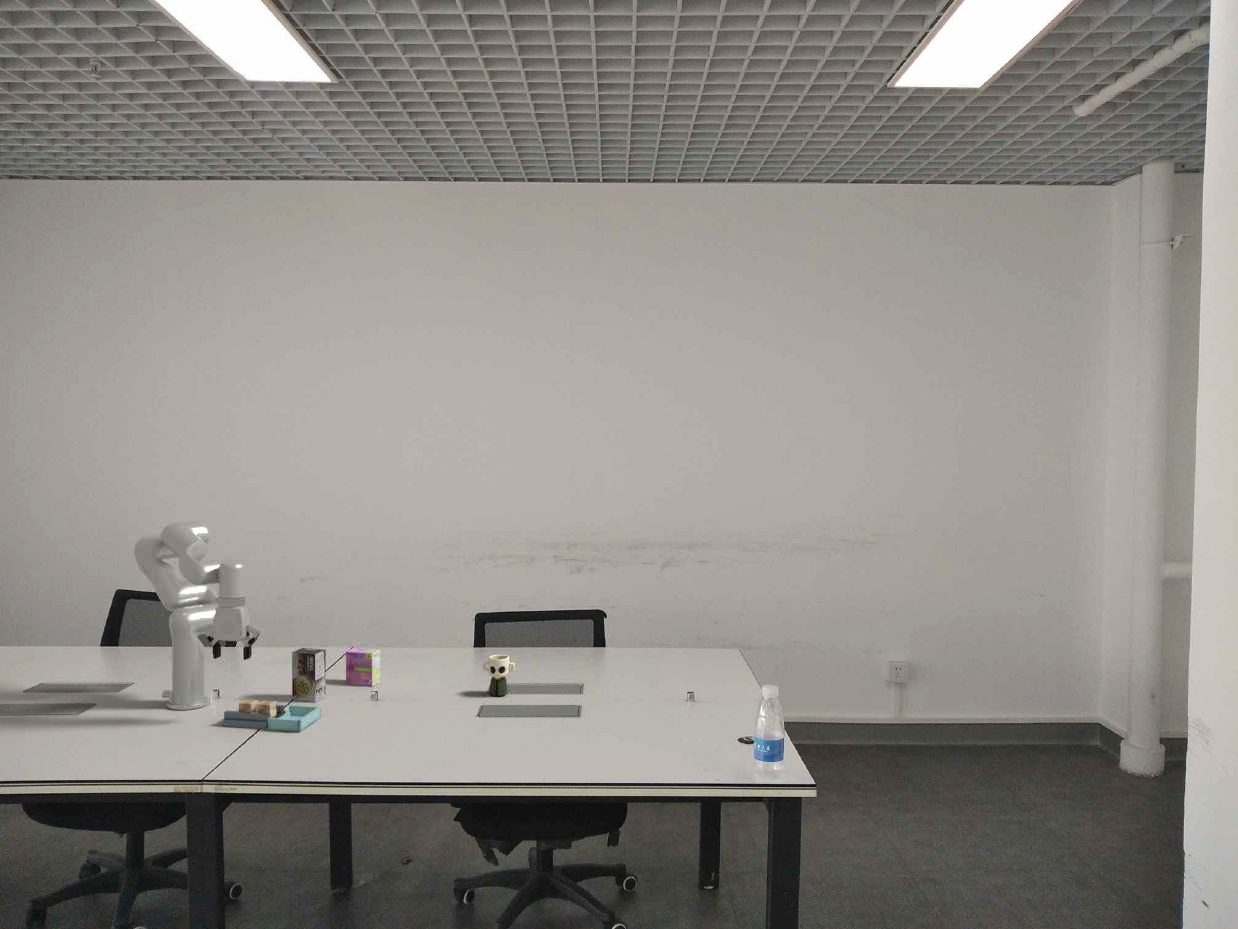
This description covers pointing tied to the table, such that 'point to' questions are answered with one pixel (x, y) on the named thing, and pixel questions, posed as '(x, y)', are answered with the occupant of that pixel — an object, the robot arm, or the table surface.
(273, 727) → the tray
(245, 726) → the slot rail
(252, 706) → the chip
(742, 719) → the table surface
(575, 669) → the table surface
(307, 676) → the coffee box
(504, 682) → the character mug
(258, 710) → the chip
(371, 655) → the box
